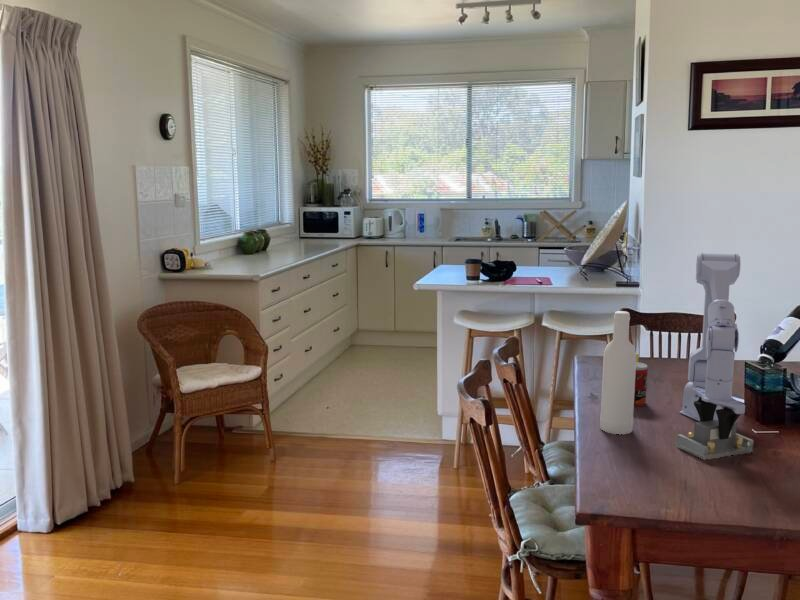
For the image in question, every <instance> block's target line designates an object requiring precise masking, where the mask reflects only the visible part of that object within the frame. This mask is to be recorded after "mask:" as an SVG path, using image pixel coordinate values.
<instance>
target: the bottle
mask: <svg viewBox="0 0 800 600" xmlns="http://www.w3.org/2000/svg"><path fill="white" fill-rule="evenodd" d="M630 320H631V315H630V312H628V311H626V310H624V311H623V310H617V311H615V312H614V314H613V330H612V331H613V337H612V340H611V341H609V343H607V344H606V346H605V349H604V351H603V359H602V360H603V361H602V364H603V365H602V378H601V379H602V382H601V403H600V415H599V417H600V418H599V422H600V423H599V429H600V430H601V431H602V430H603V431H602V432H604V431H605V432H604V433H606V432H607V434H610V433H611V434H610V435H616V434H619V435H621V434H622V435H621V436H623V435H624V436H625V435H629V434H631V433H632V432H633V426H634V407H635V406H634V391H635V373H636V353H637V351H636V349H635V345H633V344H632V343H631V342H630V340H629V334H630V332H629V331H630ZM619 435H618V436H619Z"/></svg>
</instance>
